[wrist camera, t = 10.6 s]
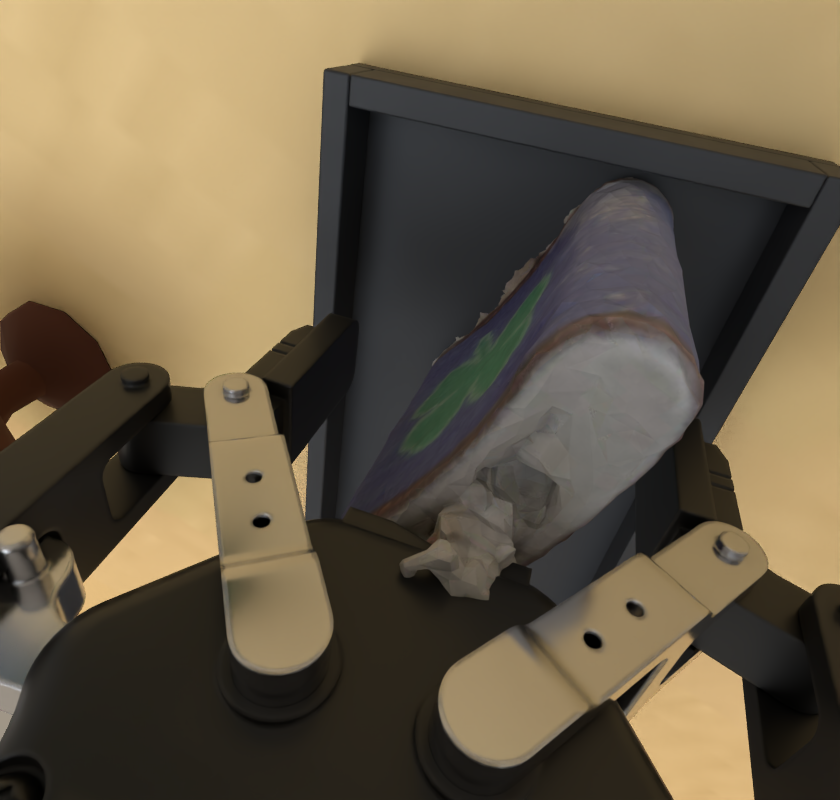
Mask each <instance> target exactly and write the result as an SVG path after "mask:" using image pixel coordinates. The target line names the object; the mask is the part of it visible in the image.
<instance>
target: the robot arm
mask: <svg viewBox="0 0 840 800" xmlns="http://www.w3.org/2000/svg"><path fill="white" fill-rule="evenodd" d="M358 334H359V323H358V321H357V320H354V319H351V318H347V317H344V316H340V315H337V314H333V313H330V314H328V315H327V316H326V317H325V318H324V319H323V320H322V321H321V322H320V323H319V324H318V325H317V326H316V327H313V326H309V325H306V326H304V327H301V328H298V329H296V330H293V331H291V332H290V333H289V334H288V335H287V336H285V337H284V338H283V339H282V340H281V342H280V343H278V344H277V345H276V346H274V347H273V348H272V351H271V350H270V351H269V352H268V353H267V354H266V355H264V356H263V357H262V358H261V359H260V360H259V361H258V362H257V363H256V364H255V365H253V366H252V367H251V368H250V369H249V370H248V371H247V372H246V373H228V374H223V375H220V376H217V377H215V378H213V379H212V380H210V381H209V382H208V383H207V384H206V386H205V388H192V387H181V386H171V385H170V378H169V374H168V372H167V371H166V370H165V369H164V368H162V367H160V366H158V365H154V364H150V363H131V364H126V365H122V366H119V367H116V368H114V369H112V370H110V371H109V372H107V373H106V374H105V375H103V376H102V377H101V378H99V379H98V380H97V381H95V382H94V383H93V384H91V385H90V386H88V387H87V388H86V389H84V390H83V391H82V392H80V393H79V394H78V395H76V396H75V397H74V398H72V399H71V400H70V401H68V402H67V403H66V404H64V405H63V406H61V407H60V408H59V409H57V410H56V411H55V412H53V413H52V414H51V415H49V416H48V417H47V418H45V419H44V420H43V421H41V422H40V423H39V424H37V425H36V426H34V427H33V428H32V429H30V430H29V431H28V432H26V433H25V434H24V435H22V436H21V437H20V438H18V439H17V440H16V441H14V442H13V443H12V444H10V445H9V446H7V447H6V448H5V449H3V450H2V451H1V452H0V710H1V711H3V712H6V713H9V714H12V715H13V716H12V718H11V720H10V723H9V725H8V728H7V729H6V731H5V733H4V735H3V737H2V739H1V741H0V800H674V799H673V798H672V796H671V794H670V792H669V791H668V789H667V787H666V785H665V784H664V782H663V780H662V779H661V777H660V775H659V773H658V772H657V770H656V768H655V766H654V765H653V763H652V761H651V759H650V758H649V756H648V754H647V753H646V751H645V749H644V747H643V746H642V744H641V742H640V740H639V739H638V737H637V735H636V733H635V732H634V730H633V728H632V726H631V725H630V723H629V721H630V720H631V719H632V718H633V717H634V716H635V715H636V714H637V713H638V711H639V710H640V709H641V708H642V707H643V706H644V705H645V704H646V703H647V702H648V701H649V700H650V699H651V698H652V697H653V696H654V695H655V694H656V693H657V692H658V691H659V690H660V689H662V688H663V687H664V686H665V685H666V684H667V683H668V682H669V681H671V680H672V679H673V678H674V677H675V676H676V675H677V674H678V673H680V672H681V671H682V670H683V669H684V668H685V667H686V666H687V665H688V664H690V663H691V662H692V661H693V660H694V659H695V658H696V657H697V656H699V655H700V654H701V653H702V652H704V653H705V654H707V655H708V656H710V657H711V658H713V659H714V660H716V661H718V662H719V663H721V664H722V665H724V666H725V667H727V668H729V669H730V670H732V671H733V672H735V673H736V674H738V675H739V676H741V677H742V681H743V690H744V700H745V710H746V720H747V730H748V740H749V750H750V759H751V769H752V779H753V789H754V799H755V800H840V585H837V584H823V585H820V586H818V587H817V588H816V589H815V590H814V591H813V593H812V594H810V593H808V592H807V591H805V590H803V589H801V588H799V587H798V586H796V585H794V584H792V583H790V582H789V581H787V580H785V579H783V578H781V577H780V576H778V575H776V574H775V573H773V572H772V571H771V570H769V569H768V558H767V556H766V554H765V552H764V550H763V549H762V547H761V546H760V545H759V544H758V543H757V542H756V541H755V540H754V539H753V538H752V537H751V536H749V535H748V534H747V533H745V532H744V531H743V527H742V523H741V518H740V513H739V509H738V504H737V500H736V495H735V492H734V486H733V481H732V480H731V477H732V476H731V472H730V467H729V463H728V460H727V459H726V458H725V456H724V455H723V454H722V452H721V451H720V450H719V448H718V447H717V446H716V445H713V444H710V443H706V442H704V438H703V432H702V426H701V421H700V419H697V418H694V420H693V421H692V422H691V424H690V425H689V426H688V427H687V429H686V430H685V432H684V434H683V437H682V439H681V440H680V441H678V442H677V443H676V444H674V445H673V446H672V447H670V448H669V449H668V450H667V451H665V453H664V454H663V456H662V457H661V458H660V460H659V461H658V462H657V463H656V464H655V465H654V466H653V467H652V468H651V469H650V470H649V471H648V472H646V473H645V474H644V475H643V476H642V477H641V478H640V479H639V480H638V481H637V482H635V545H636V555H634V556H633V557H631V558H629V559H628V560H626V561H625V562H623V563H622V564H620V565H619V566H617V567H616V568H614V569H613V570H611V571H609V572H608V573H606V574H605V575H603V576H602V577H600V578H599V579H597V580H596V581H594V582H592V583H591V584H589V585H588V586H586V587H585V588H583V589H582V590H580V591H579V592H577V593H576V594H574V595H572V596H571V597H569V598H568V599H566V600H565V601H563V602H562V603H560V604H559V605H556V604H555V603H554V602H553V601H552V600H551V599H550V598H549V597H548V596H546V595H545V594H544V593H542V592H541V591H540V590H538V589H537V588H535V587H534V586H532V585H531V584H530V578H531V573H532V569H531V568H528V567H525V566H522V565H519V564H516V563H511V564H510V565H509V566H508V567H506V568H504V569H502V570H501V572H500V576H497V577H495V581H494V582H493V583H492V585H491V587H490V588H489V591H490V594H489V600H480V599H474V598H470V597H457V596H451V595H450V594H449V592H448V591H447V590H446V589H445V587H444V586H443V585H442V584H441V582H440V580H439V579H438V578H437V577H436V576H435V575H434V574H433V573H432V572H431V571H430V570H428V569H422V570H417V572H416V573H415V575H414V576H413V577H410V578H406V577H404V576H403V574H402V573H401V570H400V566H399V564H400V562H401V561H402V560H403V559H405V558H408V557H410V556H413V555H415V554H418V553H420V552H423V551H425V550H427V549H428V548H429V547H430V546H431V545H432V544H430V543H429V542H427V541H425V540H424V539H422V538H420V537H419V536H417V535H415V534H414V533H412V532H410V531H409V530H407V529H405V528H404V527H402V526H400V525H399V524H397V523H395V522H394V521H391V520H388V519H386V518H383V517H380V516H377V515H374V514H371V513H368V512H365V511H362V510H359V509H356V508H354V507H351V506H350V508H349V509H348V511H347V513H346V515H345V516H344V518H343V519H338V518H322V519H313V520H307V521H305V517H304V513H303V509H302V505H301V501H300V497H299V493H298V489H297V485H296V481H295V477H294V473H293V469H292V465H291V464H292V463H293V462H294V460H295V459H296V458H297V457H298V455H299V454H300V453H301V451H302V450H303V449H304V448H305V446H306V445H307V444H308V442H309V441H310V440H311V438H312V437H313V436H314V435H315V433H316V432H317V431H318V429H319V428H320V427H321V425H322V424H323V423H324V422H325V420H326V419H327V418H328V416H329V415H330V414H331V413H332V411H333V410H334V409H335V407H336V406H337V405H338V403H339V402H340V401H341V400H342V398H343V397H344V396H345V394H346V393H347V392H348V390H349V388H350V386H351V384H352V381H353V378H354V374H355V366H356V355H357V345H358ZM117 452H118V453H117ZM116 453H117V454H116ZM115 454H116V455H115ZM113 455H115V456H114V457H113V458H112V459H111V460H110V458H111V457H112V456H113ZM109 460H110V461H109ZM108 461H109V462H108ZM178 476H184V477H198V478H212V485H213V496H214V506H215V517H216V527H217V538H218V548H219V555H216V556H214V557H212V558H209V559H207V560H204V561H202V562H199V563H197V564H195V565H192V566H190V567H187V568H185V569H182V570H180V571H177V572H175V573H173V574H170V575H168V576H165V577H163V578H160V579H158V580H156V581H153V582H151V583H148V584H146V585H143V586H141V587H139V588H136V589H134V590H131V591H129V592H126V593H124V594H122V595H119V596H117V597H114V598H112V599H109V600H107V601H104V602H102V603H100V604H98V605H96V606H94V607H92V608H90V609H88V610H87V611H85V612H83V613H82V614H80V615H78V614H79V612H80V611H81V609H82V607H83V605H84V602H85V596H86V593H85V588H84V585H83V582H84V581H85V580H86V579H87V578H88V577H89V576H90V575H91V573H92V572H93V571H94V570H95V569H96V568H97V567H98V566H99V564H100V563H101V562H102V561H103V560H104V559H105V558H106V557H107V556H108V554H109V553H110V552H111V551H112V550H113V549H114V548H115V547H116V545H117V544H118V543H119V542H120V541H121V540H122V539H123V538H124V536H125V535H126V534H127V533H128V532H129V531H130V530H131V529H132V528H133V526H134V525H135V524H136V523H137V522H138V521H139V520H140V519H141V517H142V516H143V515H144V514H145V513H146V512H147V511H148V510H149V508H150V507H151V506H152V505H153V504H154V503H155V502H156V501H157V500H158V498H159V497H160V496H161V495H162V494H163V493H164V492H165V491H166V489H167V488H168V487H169V486H170V485H171V484H172V483H173V482H174V481H175V479H176V478H177V477H178ZM77 615H78V616H77Z"/></svg>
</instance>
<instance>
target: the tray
mask: <svg viewBox="0 0 840 800" xmlns="http://www.w3.org/2000/svg"><path fill="white" fill-rule="evenodd" d="M626 177H633V178H635V179H640V180H643V181H646V182H648V183H650V184H652V185H654V186H655V187H657V188H658V189H659V190H660V192H661V193H662V194H663V195H664V196H665V198H666V199H667V200H668V202H669V204H670V206H671V207H672V210H673V215H674V228H673V231H674V235H675V246H676V252H677V257H678V260H679V263H680V266H681V268H682V276H683V282H684V290H685V297H686V304H687V311H688V318H689V325H690V329H691V333H692V337H693V341H694V344H695V348H696V352H697V356H698V359H699V370H700V375H701V377H702V378H703V380H704V393H703V405H702V407H701V409H700V410H699V412H698V414H697V415H696V417H695V418H697V419H700V421H701V426H702V432H703V438H704V442H706V443H710V444H712V443H713V441H714V439H715V437H716V436H717V434H718V432H719V431H720V429H721V427H722V426H723V424H724V422H725V420H726V419H727V417H728V415H729V414H730V412H731V410H732V408H733V407H734V405H735V403H736V402H737V400H738V398H739V396H740V395H741V393H742V391H743V390H744V388H745V386H746V385H747V383H748V381H749V379H750V378H751V376H752V374H753V373H754V371H755V369H756V367H757V366H758V364H759V362H760V361H761V359H762V357H763V356H764V354H765V352H766V350H767V349H768V347H769V345H770V344H771V342H772V340H773V338H774V337H775V335H776V333H777V332H778V330H779V328H780V326H781V325H782V323H783V321H784V320H785V318H786V316H787V315H788V313H789V311H790V309H791V308H792V306H793V304H794V303H795V301H796V299H797V297H798V296H799V294H800V292H801V291H802V289H803V287H804V285H805V284H806V282H807V280H808V279H809V277H810V275H811V274H812V272H813V270H814V268H815V267H816V265H817V263H818V262H819V260H820V258H821V256H822V255H823V253H824V251H825V250H826V248H827V246H828V244H829V243H830V241H831V239H832V238H833V236H834V234H835V233H836V231H837V229H838V227H839V226H840V167H839V166H838V165H837V164H835V163H834V162H830V161H825V160H821V159H816V158H811V157H806V156H801V155H797V154H792V153H787V152H782V151H778V150H773V149H768V148H763V147H758V146H754V145H749V144H744V143H739V142H734V141H730V140H725V139H720V138H715V137H710V136H706V135H701V134H696V133H691V132H686V131H682V130H677V129H672V128H667V127H662V126H658V125H653V124H648V123H643V122H638V121H634V120H629V119H624V118H619V117H614V116H610V115H605V114H600V113H595V112H591V111H586V110H581V109H576V108H571V107H567V106H562V105H557V104H552V103H547V102H543V101H538V100H533V99H528V98H523V97H519V96H514V95H509V94H504V93H499V92H495V91H490V90H485V89H480V88H475V87H471V86H466V85H461V84H456V83H451V82H447V81H442V80H437V79H432V78H427V77H423V76H418V75H413V74H408V73H403V72H399V71H394V70H389V69H384V68H380V67H375V66H370V65H365V64H360V63H357V64H351V65H347V66H340V67H334V68H327V69H325V70H324V78H323V102H322V126H321V150H320V174H319V199H318V223H317V247H316V271H315V295H314V319H313V327H316V326H317V325H318V324H319V323H320V322H321V321H322V320H323V319H324V318H325V317H326V316H327V315H328V314H330V313H333V314H337V315H340V316H344V317H347V318H351V319H354V320H357V321H358V323H359V334H358V345H357V355H356V366H355V374H354V378H353V381H352V384H351V386H350V388H349V390H348V392H347V393H346V394H345V396H344V397H343V398H342V400H341V401H340V402H339V403H338V405H337V406H336V407H335V409H334V410H333V411H332V413H331V414H330V415H329V416H328V418H327V419H326V420H325V422H324V423H323V424H322V425H321V427H320V428H319V429H318V431H317V432H316V433H315V435H314V436H313V437H312V438H311V440H310V441H309V442H308V464H307V488H306V512H305V521H307V520H313V519H322V518H338V519H340V518H341V516H342V515H343V513H344V512H345V510H346V508H347V506H348V505H349V503H350V501H351V499H352V497H353V496H354V494H355V492H356V490H357V488H358V487H359V485H360V484H361V483H362V482H363V480H364V479H365V477H366V475H367V473H368V472H369V470H370V468H371V467H372V465H373V464H374V462H375V460H376V459H377V457H378V455H379V454H380V452H381V451H382V449H383V447H384V445H385V444H386V442H387V439H388V436H389V434H390V432H391V431H392V430H393V429H394V427H395V426H396V425H397V423H398V422H399V420H400V419H401V417H402V416H403V414H404V413H405V411H406V410H407V408H408V407H409V405H410V403H411V401H412V399H413V398H414V396H415V395H416V393H417V392H418V390H419V388H420V387H421V385H422V383H423V381H424V379H425V378H426V376H427V374H428V373H429V371H430V369H431V368H432V363H433V361H434V360H435V359H437V358H438V357H439V356H440V355H441V354H442V352H443V351H444V350H445V349H447V348H449V347H450V346H451V345H452V344H453V343H454V342H455V341H456V337H459V338H461V337H463V336H465V335H468V334H469V333H470V332H471V331H472V330H473V329H474V328H475V326H476V324H477V323H478V319H479V318H480V312H481V313H488V314H489V313H490V312H491V311H493V310H495V308H496V307H498V306H499V302H500V300H501V296H502V295H503V294H505V293H504V292H503V291H502V290H505V286H506V283H507V282H509V281H510V280H511V279H512V278H513V276H514V273H515V270H520V269H521V268H523V267H524V265H525V264H526V263H527V262H528V260H529V259H530V258H535V259H536V256H539V253H540V252H542V251H545V250H546V247H547V246H548V245H549V244H551V243H552V242H553V240H554V239H556V238H557V237H558V236H559V234H560V232H561V230H562V229H563V227H564V219H565V217H566V216H568V215H569V213H570V211H571V210H573V209H574V208H576V207H578V205H580V204H582V203H583V202H584V201H585V200H586V198H587V197H588V196H589V195H590V194H592V193H593V192H594V191H595V190H596V189H598V188H599V187H601V186H602V185H603V184H604V183H605V182H609V181H612V180H616V179H620V178H626ZM565 224H566V223H565ZM634 555H636V545H635V483H634V484H633V485H632V486H630V487H629V488H628V489H626V490H625V491H623V492H622V493H621V494H619V495H618V496H617V497H616V498H615V499H614V500H613V501H612V502H611V503H610V504H609V505H608V506H606V507H605V508H604V509H603V510H602V511H601V512H600V513H599V514H598V515H596V516H595V517H594V518H593V519H592V520H591V521H590V522H589V523H588V524H586V525H585V526H583V527H582V528H580V529H578V530H576V531H575V532H574V533H573V534H572V535H571V536H570V537H569V538H568V539H567V540H565V541H563V542H561V543H560V544H558V545H556V546H554V547H553V548H552V549H551V550H550V551H549V552H548V553H547V554H546V555H545V556H544V557H542V558H539V559H538V560H536V561H534V562H533V563H531V564H529V565H527V566H526V567H528V568H531V569H532V573H531V578H530V584H531V585H532V586H534V587H535V588H537V589H538V590H540V591H541V592H542V593H544V594H545V595H546V596H548V597H549V598H550V599H551V600H552V601H553V602H554V603H555V604H556V605H559V604H560V603H562V602H563V601H565V600H566V599H568V598H569V597H571V596H572V595H574V594H576V593H577V592H579V591H580V590H582V589H583V588H585V587H586V586H588V585H589V584H591V583H592V582H594V581H596V580H597V579H599V578H600V577H602V576H603V575H605V574H606V573H608V572H609V571H611V570H613V569H614V568H616V567H617V566H619V565H620V564H622V563H623V562H625V561H626V560H628V559H629V558H631V557H633V556H634Z"/></svg>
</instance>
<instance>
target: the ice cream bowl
mask: <svg viewBox="0 0 840 800" xmlns="http://www.w3.org/2000/svg"><path fill="white" fill-rule="evenodd" d="M0 347H1V352H2V354H3V357H4V359H5V361H6V364H7V366H6V367H4V368H2V369H1V370H0V452H1V451H2V450H3V449H5V448H6V447H7V446H9V445H10V444H12V443H13V442H14V441H16V440H15V439H14V437H13V436H12V434H11V432H10V431H9V429H8V428H7V426H6V423H7V421H8V420H9V418H10V417H11V415H12V413H14V412H16V411H18V410H19V409H21V408H23V407H24V406H26V405H28V404H29V403H31V402H33V401H35V400H36V399H37V400H39V401H41V402H42V403H44V404H46V405H47V406H50V407H53V408H56V409H59V408H60V407H61V406H63V405H64V404H66V403H67V402H68V401H70V400H71V399H72V398H74V397H75V396H76V395H78V394H79V393H80V392H82V391H83V390H84V389H86V388H87V387H88V386H90V385H91V384H93V383H94V382H95V381H97V380H98V379H99V378H101V377H102V376H103V375H105V374H106V373H107V372H109V371H110V368H109V365H108V363H107V361H106V359H105V357H104V355H103V353H102V351H101V349H100V347H99V345H98V343H97V342H96V341H95V340H94V339H93V338H92V337H91V336H90V335H89V334H88V333H87V332H85V331H84V330H83V329H82V328H81V327H80V326H79V325H78V324H77V323H76V322H74V321H73V320H72V319H71V318H70V317H69V316H68V315H67V314H66V313H65V312H63V311H60V310H56V309H53V308H50V307H47V306H44V305H40V304H37V303H34V302H31V301H28V302H26V303H25V304H23V305H21V306H20V307H18V308H17V309H15V310H13V311H12V312H10V313H8V314H7V315H6V316H5V317H4V318H3V319H2V320H1V321H0Z"/></svg>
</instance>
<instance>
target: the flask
mask: <svg viewBox="0 0 840 800" xmlns="http://www.w3.org/2000/svg"><path fill="white" fill-rule="evenodd" d="M565 223H566V224H565ZM673 228H674V215H673V210H672V207H671V206H670V204H669V202H668V200H667V199H666V198H665V196H664V195H663V194H662V193H661V192H660V190H659V189H658V188H657V187H655V186H654V185H652V184H650V183H648V182H646V181H643V180H640V179H635V178H633V177H626V178H620V179H616V180H612V181H609V182H605V183H604V184H603V185H602V186H601V187H599V188H598V189H596V190H595V191H594V192H593V193H592V194H590V195H589V196H588V197H587V198H586V200H585V201H584V202H583V203H582V204H580V205H578V207H576V208H574V209H573V210H571V211H570V213H569V215H568V216H566V217H565V219H564V227H563V229H562V230H561V232H560V234H559V236H558V237H557V238H556V239H554V240H553V242H552V243H551V244H549V245H548V246H547V247H546V250H545V251H542V252H540V253H539V256H536V259H535V258H530V259H529V260H528V262H527V263H526V264H525V265H524V267H523V268H521V269H520V270H515V273H514V276H513V278H512V279H511V280H510V281H509V282H507V283H506V286H505V290H502V291H503V292H504V293H505V294H503V295H502V296H501V300H500V302H499V306H498V307H496V308H495V310H493V311H491V312H490V313H489V314H488V313H481V312H480V318H479V319H478V323H477V324H476V326H475V328H474V329H473V330H472V331H471V332H470V333H469V334H468V335H465V336H463V337H461V338H459V337H456V341H455V342H454V343H453V344H452V345H451V346H450V347H449V348H447V349H445V350H444V351H443V352H442V354H441V355H440V356H439V357H438V358H437V359H435V360H434V361H433V363H432V368H431V369H430V371H429V373H428V374H427V376H426V378H425V379H424V381H423V383H422V385H421V387H420V388H419V390H418V392H417V393H416V395H415V396H414V398H413V399H412V401H411V403H410V405H409V407H408V408H407V410H406V411H405V413H404V414H403V416H402V417H401V419H400V420H399V422H398V423H397V425H396V426H395V427H394V429H393V430H392V431H391V432H390V434H389V436H388V439H387V442H386V444H385V445H384V447H383V449H382V451H381V452H380V454H379V455H378V457H377V459H376V460H375V462H374V464H373V465H372V467H371V468H370V470H369V472H368V473H367V475H366V477H365V479H364V480H363V482H362V483H361V484H360V485H359V487H358V488H357V490H356V492H355V494H354V496H353V497H352V499H351V501H350V503H349V505H348V506H347V508H346V510H345V512H344V513H343V515H342V516H341V518H340V519H343V518H344V516H345V515H346V513H347V511H348V509H349V508H350V506H351V507H354V508H356V509H359V510H362V511H365V512H368V513H371V514H374V515H377V516H380V517H383V518H386V519H388V520H391V521H394V522H395V523H397V524H399V525H400V526H402V527H404V528H405V529H407V530H409V531H410V532H412V533H414V534H415V535H417V536H419V537H420V538H422V539H424V540H425V541H427V542H429V543H430V544H432V545H431V546H430V547H429V548H428V549H427V550H425V551H423V552H420V553H418V554H415V555H413V556H410V557H408V558H405V559H403V560H402V561H401V562H400V564H399V566H400V570H401V573H402V574H403V576H404V577H406V578H410V577H413V576H414V575H415V573H416V572H417V570H422V569H428V570H430V571H431V572H432V573H433V574H434V575H435V576H436V577H437V578H438V579H439V580H440V582H441V584H442V585H443V586H444V587H445V589H446V590H447V591H448V592H449V594H450V595H451V596H457V597H470V598H474V599H480V600H489V594H490V591H489V588H490V587H491V585H492V583H493V582H494V581H495V577H497V576H500V572H501V570H502V569H504V568H506V567H508V566H509V565H510V564H511V563H516V564H519V565H522V566H525V567H526V566H527V565H529V564H531V563H533V562H534V561H536V560H538V559H539V558H542V557H544V556H545V555H546V554H547V553H548V552H549V551H550V550H551V549H552V548H553V547H554V546H556V545H558V544H560V543H561V542H563V541H565V540H567V539H568V538H569V537H570V536H571V535H572V534H573V533H574V532H575V531H576V530H578V529H580V528H582V527H583V526H585V525H586V524H588V523H589V522H590V521H591V520H592V519H593V518H594V517H595V516H596V515H598V514H599V513H600V512H601V511H602V510H603V509H604V508H605V507H606V506H608V505H609V504H610V503H611V502H612V501H613V500H614V499H615V498H616V497H617V496H618V495H619V494H621V493H622V492H623V491H625V490H626V489H628V488H629V487H630V486H632V485H633V484H634V483H635V482H637V481H638V480H639V479H640V478H641V477H642V476H643V475H644V474H645V473H646V472H648V471H649V470H650V469H651V468H652V467H653V466H654V465H655V464H656V463H657V462H658V461H659V460H660V458H661V457H662V456H663V454H664V453H665V451H667V450H668V449H669V448H670V447H672V446H673V445H674V444H676V443H677V442H678V441H680V440H681V439H682V437H683V434H684V432H685V430H686V429H687V427H688V426H689V425H690V424H691V422H692V421H693V420H694V418H695V417H696V415H697V414H698V412H699V410H700V409H701V407H702V405H703V393H704V380H703V378H702V377H701V375H700V370H699V359H698V356H697V352H696V348H695V344H694V341H693V337H692V333H691V329H690V325H689V318H688V311H687V304H686V297H685V290H684V282H683V276H682V268H681V266H680V263H679V260H678V257H677V252H676V246H675V235H674V231H673Z"/></svg>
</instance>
